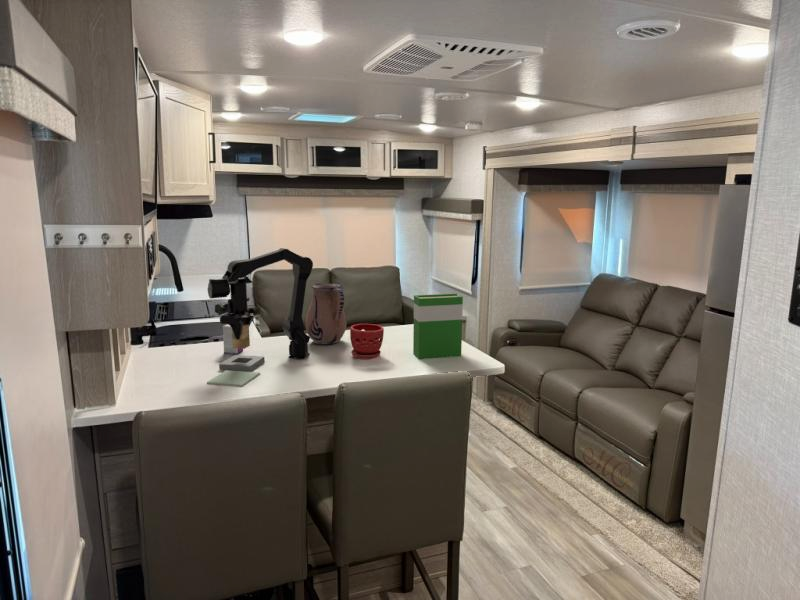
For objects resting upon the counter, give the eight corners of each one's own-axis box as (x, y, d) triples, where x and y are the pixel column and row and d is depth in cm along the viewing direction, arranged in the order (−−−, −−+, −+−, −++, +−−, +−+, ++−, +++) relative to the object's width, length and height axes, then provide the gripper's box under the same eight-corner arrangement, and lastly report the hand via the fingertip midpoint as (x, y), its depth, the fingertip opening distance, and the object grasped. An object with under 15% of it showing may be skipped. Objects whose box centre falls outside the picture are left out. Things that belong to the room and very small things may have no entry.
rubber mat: (259, 374, 193) (259, 372, 193) (242, 386, 180) (242, 384, 180) (226, 371, 196) (226, 370, 195) (206, 383, 183) (206, 382, 183)
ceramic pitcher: (327, 334, 248) (326, 280, 243) (361, 342, 235) (360, 285, 230) (297, 342, 235) (295, 285, 230) (331, 351, 222) (330, 290, 217)
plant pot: (363, 363, 206) (363, 332, 204) (344, 355, 216) (343, 326, 214) (390, 356, 215) (390, 327, 212) (370, 349, 224) (370, 321, 222)
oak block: (249, 345, 203) (248, 324, 201) (244, 348, 198) (243, 327, 197) (238, 345, 203) (237, 324, 202) (232, 348, 199) (231, 326, 198)
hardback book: (454, 351, 223) (456, 293, 218) (461, 356, 216) (462, 296, 211) (413, 354, 218) (413, 295, 214) (418, 359, 211) (419, 298, 207)
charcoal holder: (264, 362, 207) (264, 356, 206) (250, 372, 195) (249, 366, 195) (235, 360, 209) (235, 354, 209) (219, 369, 198) (219, 364, 197)
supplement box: (237, 354, 217) (235, 326, 214) (223, 353, 218) (221, 325, 216) (244, 350, 222) (242, 323, 220) (230, 349, 223) (229, 322, 221)
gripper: (231, 290, 208) (233, 330, 211) (204, 299, 190) (207, 342, 193) (258, 291, 206) (260, 331, 209) (234, 300, 188) (236, 344, 191)
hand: (240, 337), depth 200 cm, fingers closed on oak block, 4 cm apart
